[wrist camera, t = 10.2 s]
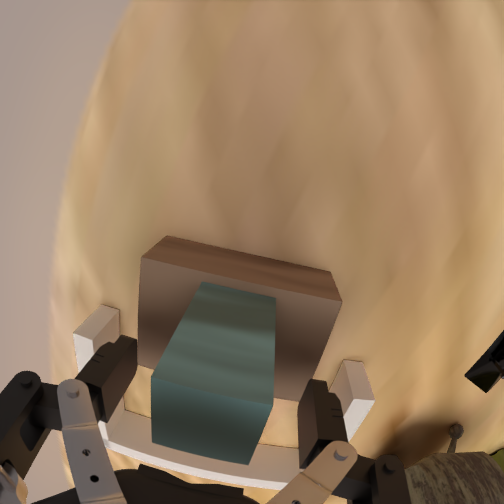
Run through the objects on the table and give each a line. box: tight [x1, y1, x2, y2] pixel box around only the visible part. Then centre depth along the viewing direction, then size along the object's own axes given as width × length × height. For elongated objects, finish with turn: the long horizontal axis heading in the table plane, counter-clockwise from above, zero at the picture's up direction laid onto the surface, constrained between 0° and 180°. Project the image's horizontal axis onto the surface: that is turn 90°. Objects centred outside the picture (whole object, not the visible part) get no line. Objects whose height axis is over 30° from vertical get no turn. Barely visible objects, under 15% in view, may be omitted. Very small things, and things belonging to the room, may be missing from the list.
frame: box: [73, 304, 375, 490], centre depth 20 cm, size 12×19×4 cm, turn 79°
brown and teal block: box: [138, 236, 342, 465], centre depth 14 cm, size 7×10×11 cm
